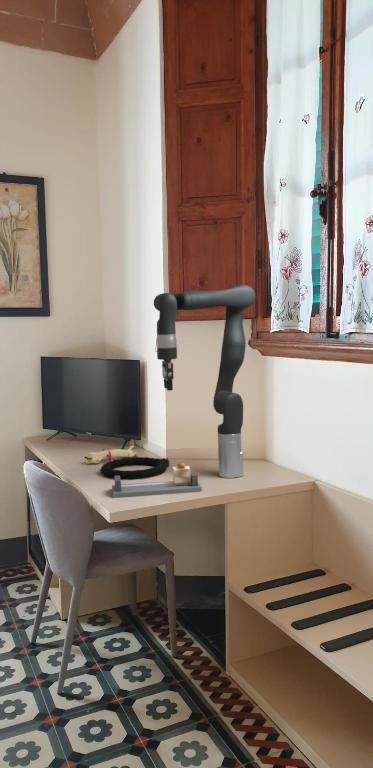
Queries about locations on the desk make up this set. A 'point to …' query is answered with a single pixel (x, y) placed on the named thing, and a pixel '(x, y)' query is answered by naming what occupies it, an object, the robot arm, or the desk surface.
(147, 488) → the rail board
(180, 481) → the keeper
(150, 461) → the cable lock
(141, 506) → the desk surface
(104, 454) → the cat figure
